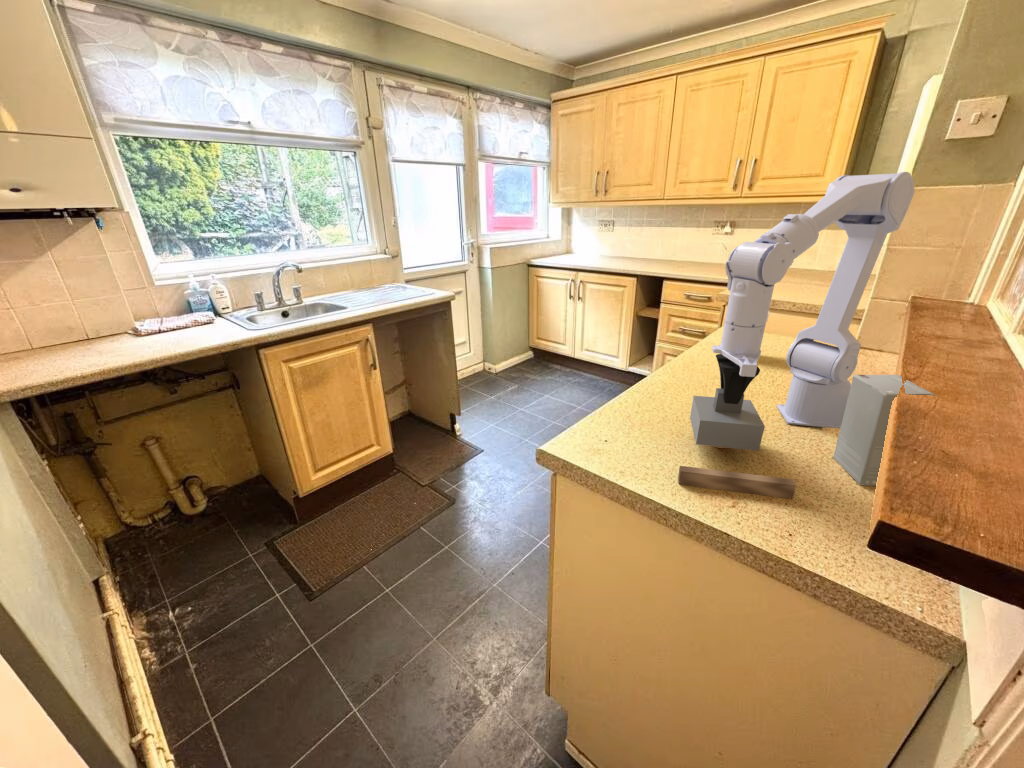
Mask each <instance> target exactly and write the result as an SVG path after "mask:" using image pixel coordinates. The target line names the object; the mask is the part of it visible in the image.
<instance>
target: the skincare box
mask: <svg viewBox="0 0 1024 768" xmlns="http://www.w3.org/2000/svg"><path fill="white" fill-rule="evenodd" d="M852 376H853V377H852V379H851V382H850V384H851V387H850V392H849V396H848V400H847V404H846V408H845V412H844V416H843V420H842V424H841V428H840V429H839V433H838V436H837V440H836V446H835V449H834V451H833V456H832V458H833V459H834V460H835V461H836V462H837V463H838V464H839V465H840V466H841V467H842V469H844V470H845V471H846V472H847V473H848V474H849V475H850V476H851V477H852V478H853V479H854V480H855V481H856V483H858V484H859V485H860V486H870V487H871V486H874V487H876V486H875V485H876V482H877V477H878V472H879V468H880V463H881V458H882V452H883V447H884V441H885V435H886V430H887V425H888V419H889V414H890V409H891V405H892V401H893V400H894V398H895V397H897V395H898V394H899V391H900V388H901V387H902V385H904V388H905V393H906V394H909V395H911V394H912V395H914V394H915V395H933V396H935V397H936V394H935V393H933V392H931V391H929V390H927V389H925V388H923V387H922V388H920V387H921V386H919V385H918V384H915V383H914V382H912V381H911V380H908V379H907V380H906V382H905V381H904V382H905V383H904V384H903V383H902V377H903V376H901V375H899V374H854V375H852ZM917 385H918V386H919V387H918V386H917Z"/></svg>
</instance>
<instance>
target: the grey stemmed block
mask: <svg viewBox="0 0 1024 768" xmlns="http://www.w3.org/2000/svg"><path fill="white" fill-rule="evenodd" d="M723 392H724V389H721V387H720V388H719V387H718V388H717V387H716V388H715V394H714V396H706V395H705V396H701V395H693V397H692V402H691V403H692V404H691V409H690V416H689V419H690V424H691V428H692V432H693V436H694V441H695V444H696V445H699V446H709V447H715V446H716V447H715V448H717V447H726V448H725V449H727V448H728V449H735V450H746V451H755V452H758V451H760V447H761V444H762V439H763V435H764V432H765V427H766V425H765V424H764V422H763V421H762V418H761V417H760V415H759V413H758V411H757V410H756V407H755V405H754V404H753V402H752V400H750V399H745V393H744V394H743V396H742V398H741V400H740V402H739V403H738V404H729V403H725V402H724V396H723Z"/></svg>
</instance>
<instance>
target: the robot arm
mask: <svg viewBox="0 0 1024 768" xmlns="http://www.w3.org/2000/svg"><path fill="white" fill-rule="evenodd" d="M914 181H915V180H914V178H913V176H912V174H911V173H910V172H909V171H901V172H896V173H882V174H881V173H879V174H877V173H876V174H860V175H849V174H842V175H840V176H838V177H837V178H836V179H835V180H833V181H832V182H830V183H829V185H828V186H827V189H826V191H825V193H824V194H825V195H823V197H821V198H820V199H819V200H818V202H816V203H815V204H814V205H813V206H812V207H810V208H809V209H808V210H806V212H805V213H803V214H801V213H793V214H791V213H788V214H786V215H785V216H783V218H782V221H781V222H779V223H778V224H776V225H774V226H773V227H772V228H770V229H769V230H768V231H766V232H764V233H763V234H761V236H760V237H758V238H757V239H755V240H754V241H745V242H743V243H741V244H740V245H737V246H735V248H734V249H733V250H732V251H731V253H730V254H729V257H728V260H727V261H726V262H725V268H724V269H725V274H726V277H727V285H726V286H727V287H726V288H727V290H728V291H729V297H728V302H727V308H726V312H725V319H724V324H723V329H722V335H721V340H720V341H721V342H720V344H719V345H712V346H711V347H712V348H711V351H712V352H713V354H716V355H715V358H716V360H717V363H718V368H719V375H720V388H721V389H724V392H723V396H724V402H725V403H729V404H738V403H739V402H740V400H741V398H742V396H743V394H744V395H745V392H746V391H747V388H748V387H749V385H750V384H751V383H752V382H753V380H755V379H756V377H757V376H758V375H759V374H760V372H761V369H760V367H759V366H758V364H757V363H758V361H759V359H760V358H761V354H762V350H761V347H762V343H763V338H764V334H765V328H766V325H767V322H768V321H767V316H768V312H769V313H770V307H771V306H770V305H771V302H772V298H773V294H774V289H775V284H777V283H780V282H781V281H782V280H783V278H784V277H785V275H786V273H787V271H788V269H789V268H790V267H791V266H792V265H793V263H794V260H795V259H797V258H799V257H800V256H801V255H802V254H803V253H804V252H806V251H807V250H808V249H810V248H811V247H813V246H814V245H815V244H816V242H817V241H818V239H819V235H820V234H819V233H820V232H821V231H823V230H824V229H826V228H827V227H829V226H830V225H832V224H834V223H835V225H836V226H837V228H839V229H841V230H844V231H845V233H846V235H847V241H846V244H845V246H844V248H843V252H842V254H841V256H840V259H839V262H838V263H837V264H838V265H837V268H836V269H835V271H834V275H833V278H832V280H831V282H830V284H829V288H828V290H827V293H826V296H825V299H824V300H823V304H822V306H821V309H820V312H819V314H818V317H817V319H816V322H815V324H814V325H812V326H809V327H806V328H804V329H802V330H800V331H798V332H797V334H796V337H795V339H794V341H793V342H792V343H791V344H790V347H789V348H788V349H787V353H786V356H785V359H786V360H785V361H786V364H787V366H788V367H789V368H790V370H789V373H791V374H792V377H791V381H790V385H789V389H788V393H787V398H786V401H785V404H778V403H777V405H776V407H777V410H778V411H779V412H780V414H781V415H782V417H783V418H784V420H785V422H786V423H787V424H789V425H795V426H796V425H797V426H806V427H807V426H808V427H817V428H818V427H819V428H829V429H830V428H831V429H839V430H840V428H841V424H842V420H843V416H844V412H845V408H846V404H847V400H848V396H849V392H850V387H851V381H850V380H849V378H850V377H851V376H853V373H854V372H855V370H856V368H857V365H858V361H859V359H858V357H859V353H860V350H861V343H860V342H859V340H858V339H857V338H856V337H855V335H853V334H852V333H851V330H850V326H851V324H852V322H853V319H854V317H855V314H856V312H857V308H858V306H859V304H860V302H861V300H862V297H863V294H864V291H865V289H866V287H867V284H868V282H869V279H870V277H871V275H872V272H873V270H874V268H875V266H876V262H877V261H878V258H879V255H880V254H881V250H882V248H883V245H884V243H885V240H886V239H887V236H888V234H890V233H893V232H895V231H897V230H899V229H900V227H901V225H902V223H903V221H904V219H905V218H906V215H907V212H908V210H909V207H910V205H911V203H912V201H913V199H914V195H915V183H914ZM766 321H767V322H766Z"/></svg>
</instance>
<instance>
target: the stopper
mask: <svg viewBox="0 0 1024 768" xmlns="http://www.w3.org/2000/svg"><path fill="white" fill-rule="evenodd" d="M677 482H678V485H682V486H684V485H685V486H691V487H699V488H705V489H706V488H707V489H714V490H722V491H729V492H735V493H744V494H750V495H751V494H753V495H758V496H767V497H774V498H780V499H781V498H783V499H789V500H793V499H794V495H795V491H796V489H797V484H796V482H795V480H794V479H793V478H785V477H777V476H776V477H775V476H767V475H762V474H761V475H759V474H751V473H743V472H736V471H726V470H719V469H711V468H710V469H709V468H702V467H695V466H694V467H692V466H686V465H679V469H678V476H677Z"/></svg>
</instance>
